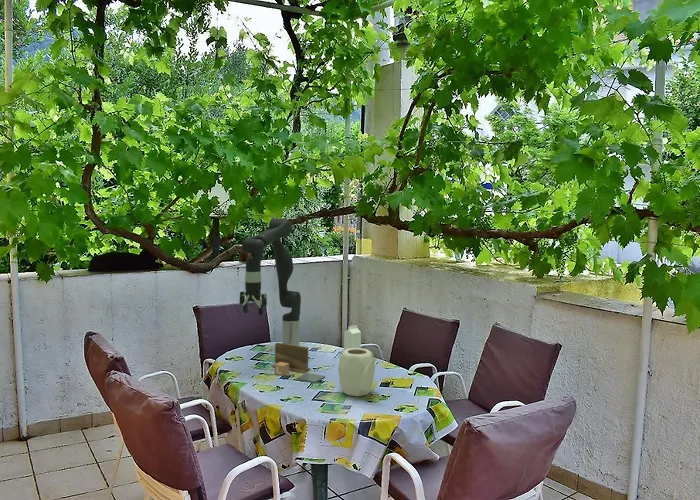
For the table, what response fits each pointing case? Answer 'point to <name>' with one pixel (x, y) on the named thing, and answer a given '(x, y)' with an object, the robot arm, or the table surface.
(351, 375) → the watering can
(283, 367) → the letter cube
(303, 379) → the slate pad
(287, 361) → the walnut screen
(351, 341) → the milk
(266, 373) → the table surface
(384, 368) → the table surface
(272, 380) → the table surface
